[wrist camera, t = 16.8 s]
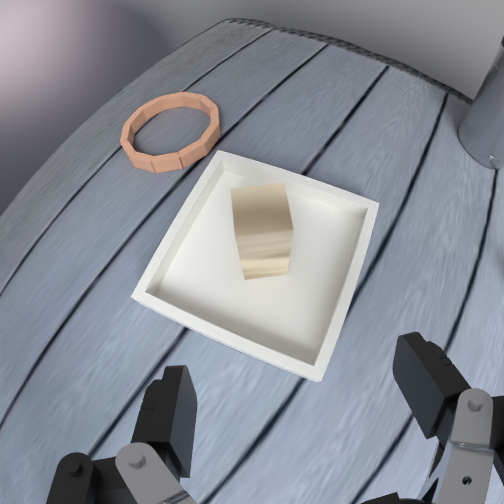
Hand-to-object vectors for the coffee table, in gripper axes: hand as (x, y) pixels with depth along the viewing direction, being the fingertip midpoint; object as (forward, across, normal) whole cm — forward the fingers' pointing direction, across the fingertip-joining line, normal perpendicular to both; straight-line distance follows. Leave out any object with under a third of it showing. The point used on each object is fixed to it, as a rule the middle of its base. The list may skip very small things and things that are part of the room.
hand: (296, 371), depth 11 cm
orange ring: (+34, +10, -10) cm, 37 cm away
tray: (+20, 0, +4) cm, 21 cm away
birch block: (+20, 0, +4) cm, 20 cm away
